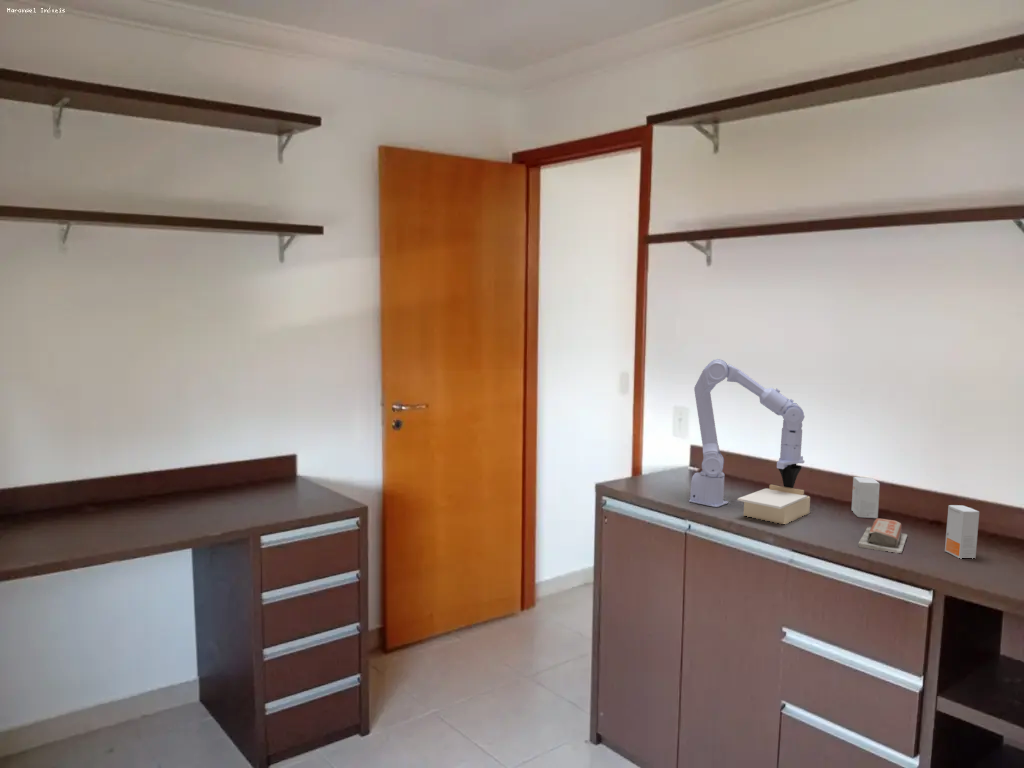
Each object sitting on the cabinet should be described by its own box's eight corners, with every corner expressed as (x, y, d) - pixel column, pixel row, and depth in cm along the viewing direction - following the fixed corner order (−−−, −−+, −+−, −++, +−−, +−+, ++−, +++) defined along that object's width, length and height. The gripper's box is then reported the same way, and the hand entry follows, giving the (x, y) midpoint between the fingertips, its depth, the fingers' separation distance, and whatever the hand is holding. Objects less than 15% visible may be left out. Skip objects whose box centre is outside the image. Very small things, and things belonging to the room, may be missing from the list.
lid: (737, 500, 218) (737, 493, 218) (766, 489, 232) (767, 483, 232) (780, 509, 210) (781, 502, 210) (808, 497, 224) (808, 490, 224)
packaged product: (867, 514, 209) (908, 520, 204) (866, 532, 210) (907, 538, 205) (858, 530, 194) (902, 537, 189) (857, 549, 195) (901, 556, 189)
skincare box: (943, 551, 192) (947, 504, 191) (959, 551, 193) (963, 504, 192) (959, 559, 186) (963, 511, 185) (976, 559, 187) (980, 511, 186)
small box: (877, 519, 222) (880, 483, 221) (857, 517, 223) (859, 482, 222) (870, 512, 230) (873, 477, 229) (850, 510, 231) (853, 476, 230)
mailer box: (743, 516, 221) (744, 499, 221) (770, 505, 235) (770, 489, 234) (784, 525, 213) (785, 507, 213) (809, 513, 227) (810, 496, 226)
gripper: (794, 449, 219) (791, 495, 221) (813, 443, 230) (811, 487, 231) (770, 445, 224) (768, 491, 225) (790, 440, 235) (788, 483, 236)
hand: (788, 489), depth 229 cm, fingers closed
